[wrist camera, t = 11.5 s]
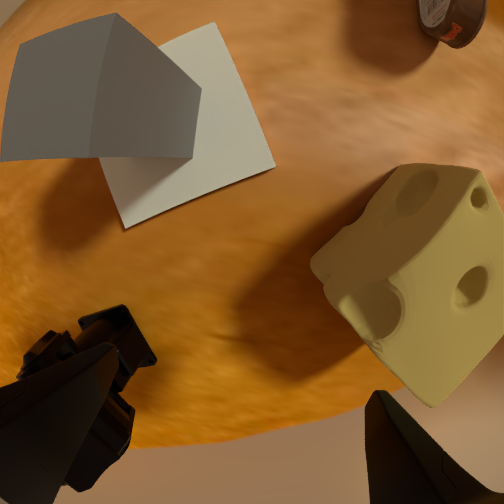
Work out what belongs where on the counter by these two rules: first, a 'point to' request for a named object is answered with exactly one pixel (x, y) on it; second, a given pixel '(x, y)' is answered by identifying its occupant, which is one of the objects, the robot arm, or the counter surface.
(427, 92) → the counter surface
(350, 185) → the counter surface
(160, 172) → the tile
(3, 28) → the counter surface
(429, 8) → the tin
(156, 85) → the block
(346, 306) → the cheese
